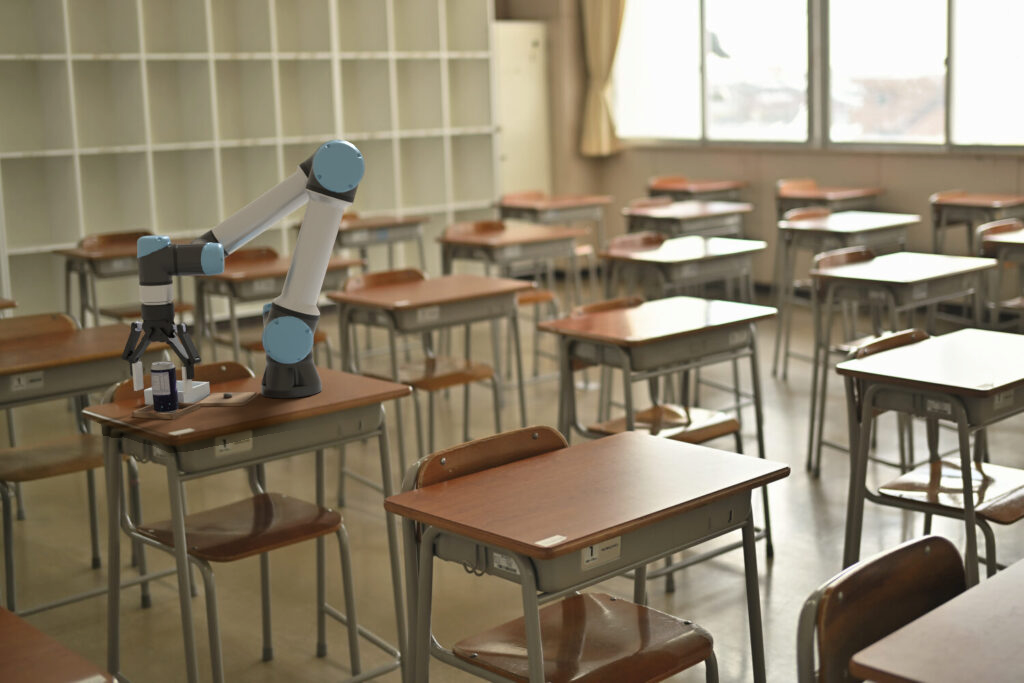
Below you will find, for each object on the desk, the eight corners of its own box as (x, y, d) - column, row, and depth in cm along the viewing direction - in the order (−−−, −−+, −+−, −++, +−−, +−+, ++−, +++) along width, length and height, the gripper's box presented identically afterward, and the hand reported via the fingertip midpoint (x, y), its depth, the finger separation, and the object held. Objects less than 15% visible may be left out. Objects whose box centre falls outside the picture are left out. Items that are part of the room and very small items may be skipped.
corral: (200, 408, 284) (200, 403, 284) (173, 419, 274) (172, 414, 274) (160, 405, 288) (160, 401, 288) (132, 416, 277) (131, 411, 277)
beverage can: (182, 412, 280) (178, 363, 278) (159, 416, 277) (154, 366, 275) (174, 408, 285) (170, 359, 283) (150, 412, 282) (146, 362, 279)
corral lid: (256, 395, 296) (256, 388, 296) (243, 405, 285) (243, 398, 285) (212, 395, 297) (212, 388, 297) (198, 406, 286) (197, 399, 286)
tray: (210, 396, 297) (209, 382, 296) (184, 406, 287) (183, 391, 286) (172, 394, 301) (170, 380, 300) (145, 404, 290) (143, 389, 290)
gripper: (212, 301, 276) (217, 390, 279) (122, 298, 284) (128, 385, 287) (194, 306, 269) (199, 397, 272) (102, 302, 277) (108, 391, 280)
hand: (163, 391), depth 280 cm, fingers open, 13 cm apart
